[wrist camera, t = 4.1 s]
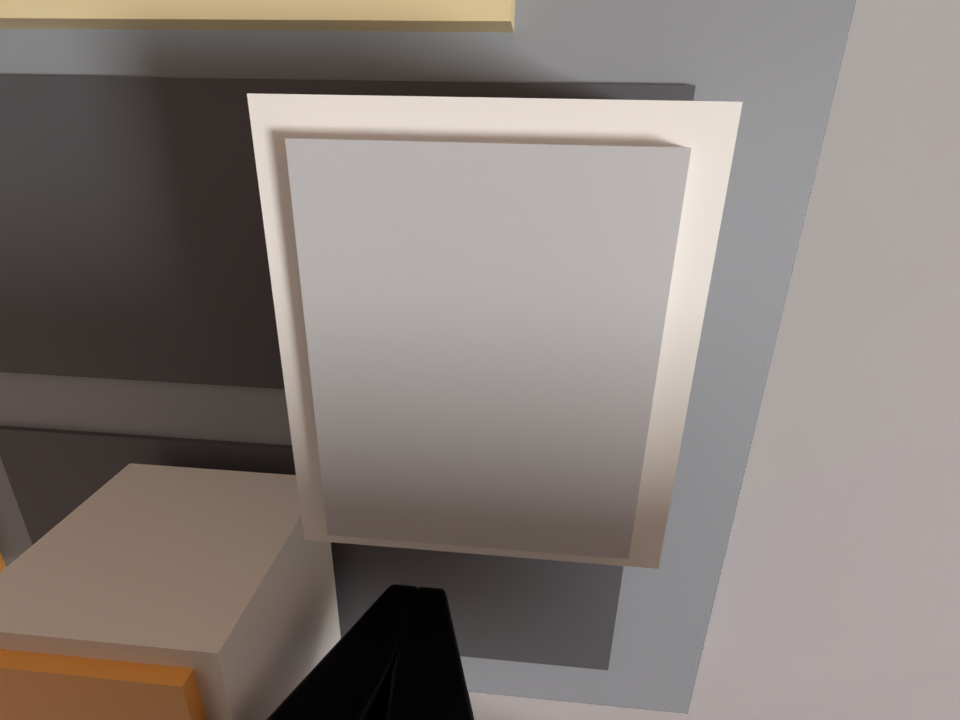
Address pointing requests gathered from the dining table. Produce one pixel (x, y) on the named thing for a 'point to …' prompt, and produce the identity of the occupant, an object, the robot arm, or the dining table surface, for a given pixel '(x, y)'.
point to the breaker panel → (248, 292)
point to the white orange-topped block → (168, 602)
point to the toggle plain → (490, 313)
